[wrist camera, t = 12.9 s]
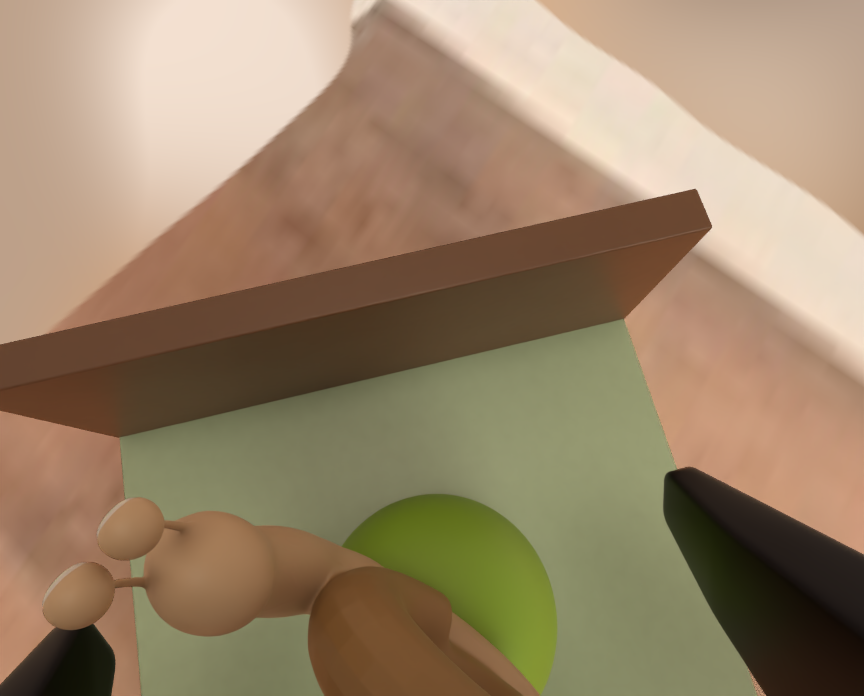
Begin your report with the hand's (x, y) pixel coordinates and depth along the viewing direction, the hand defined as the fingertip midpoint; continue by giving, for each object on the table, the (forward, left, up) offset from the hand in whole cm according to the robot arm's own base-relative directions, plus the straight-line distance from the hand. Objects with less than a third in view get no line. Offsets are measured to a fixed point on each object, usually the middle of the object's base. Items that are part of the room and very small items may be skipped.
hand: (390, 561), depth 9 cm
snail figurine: (-1, +1, -8) cm, 8 cm away
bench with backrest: (0, 0, -12) cm, 12 cm away
